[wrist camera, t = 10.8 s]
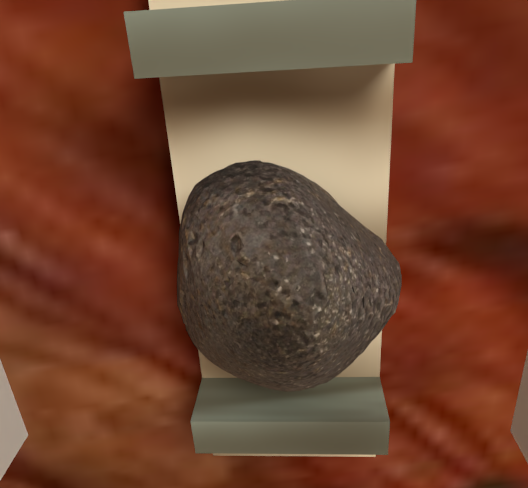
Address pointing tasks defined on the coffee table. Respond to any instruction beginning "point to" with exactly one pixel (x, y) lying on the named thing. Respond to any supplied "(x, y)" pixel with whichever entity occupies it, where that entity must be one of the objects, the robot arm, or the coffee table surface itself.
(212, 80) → the cream and green rack
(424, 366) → the coffee table surface
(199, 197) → the stone
